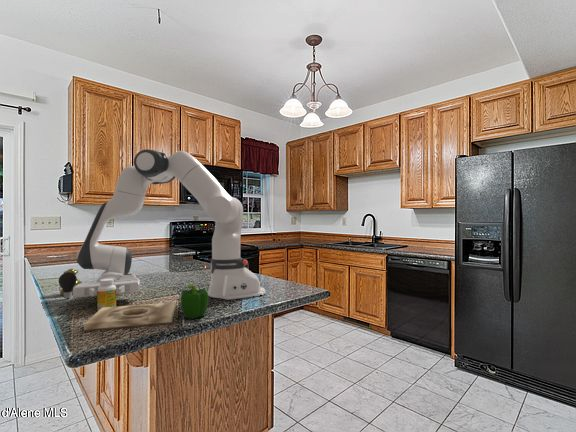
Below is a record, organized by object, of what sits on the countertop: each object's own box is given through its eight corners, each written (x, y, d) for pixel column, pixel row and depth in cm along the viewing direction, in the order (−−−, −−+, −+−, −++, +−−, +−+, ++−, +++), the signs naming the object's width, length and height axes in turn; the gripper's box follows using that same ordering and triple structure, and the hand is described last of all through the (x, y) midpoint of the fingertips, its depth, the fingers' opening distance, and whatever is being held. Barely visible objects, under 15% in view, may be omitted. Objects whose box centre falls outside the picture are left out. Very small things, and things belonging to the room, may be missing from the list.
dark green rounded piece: (54, 295, 124) (54, 270, 124) (71, 291, 131) (72, 267, 131) (70, 296, 122) (70, 270, 122) (86, 292, 129) (86, 267, 129)
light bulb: (64, 297, 121) (64, 271, 121) (79, 296, 122) (79, 270, 122) (55, 301, 115) (55, 273, 116) (71, 300, 116) (71, 273, 116)
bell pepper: (197, 310, 102) (197, 280, 102) (213, 315, 97) (213, 283, 97) (174, 317, 96) (174, 284, 96) (189, 322, 91) (189, 288, 91)
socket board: (175, 308, 105) (175, 302, 105) (171, 323, 90) (171, 316, 90) (101, 313, 99) (101, 307, 99) (84, 331, 84) (84, 323, 84)
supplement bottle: (107, 311, 101) (107, 281, 101) (93, 310, 102) (93, 280, 102) (119, 307, 106) (119, 278, 106) (106, 306, 107) (106, 277, 108)
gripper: (76, 278, 111) (68, 286, 99) (139, 273, 120) (140, 280, 108) (76, 296, 111) (68, 306, 99) (139, 290, 120) (140, 298, 108)
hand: (106, 292), depth 104 cm, fingers closed on supplement bottle, 5 cm apart
